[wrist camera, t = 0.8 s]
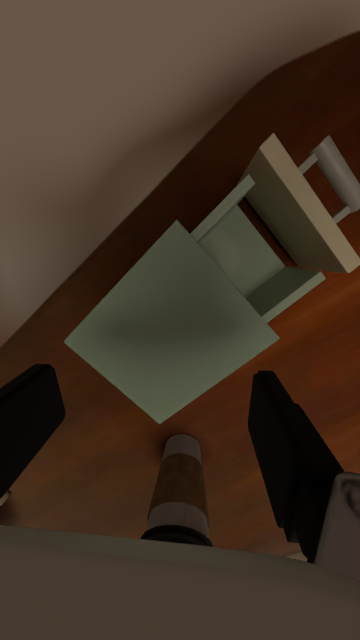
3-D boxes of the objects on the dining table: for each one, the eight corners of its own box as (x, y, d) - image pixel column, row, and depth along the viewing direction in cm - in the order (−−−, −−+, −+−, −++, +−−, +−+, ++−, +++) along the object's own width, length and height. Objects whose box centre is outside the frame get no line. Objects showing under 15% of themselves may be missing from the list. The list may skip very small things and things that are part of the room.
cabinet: (183, 232, 23) (176, 218, 14) (250, 308, 26) (280, 338, 17) (106, 312, 27) (62, 341, 18) (170, 372, 30) (159, 424, 20)
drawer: (280, 140, 19) (333, 69, 12) (342, 232, 21) (421, 220, 14) (155, 268, 24) (137, 275, 17) (216, 333, 26) (224, 364, 19)
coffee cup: (191, 421, 32) (188, 552, 18) (216, 455, 34) (231, 597, 20) (149, 438, 34) (116, 570, 20) (175, 469, 36) (162, 609, 22)
